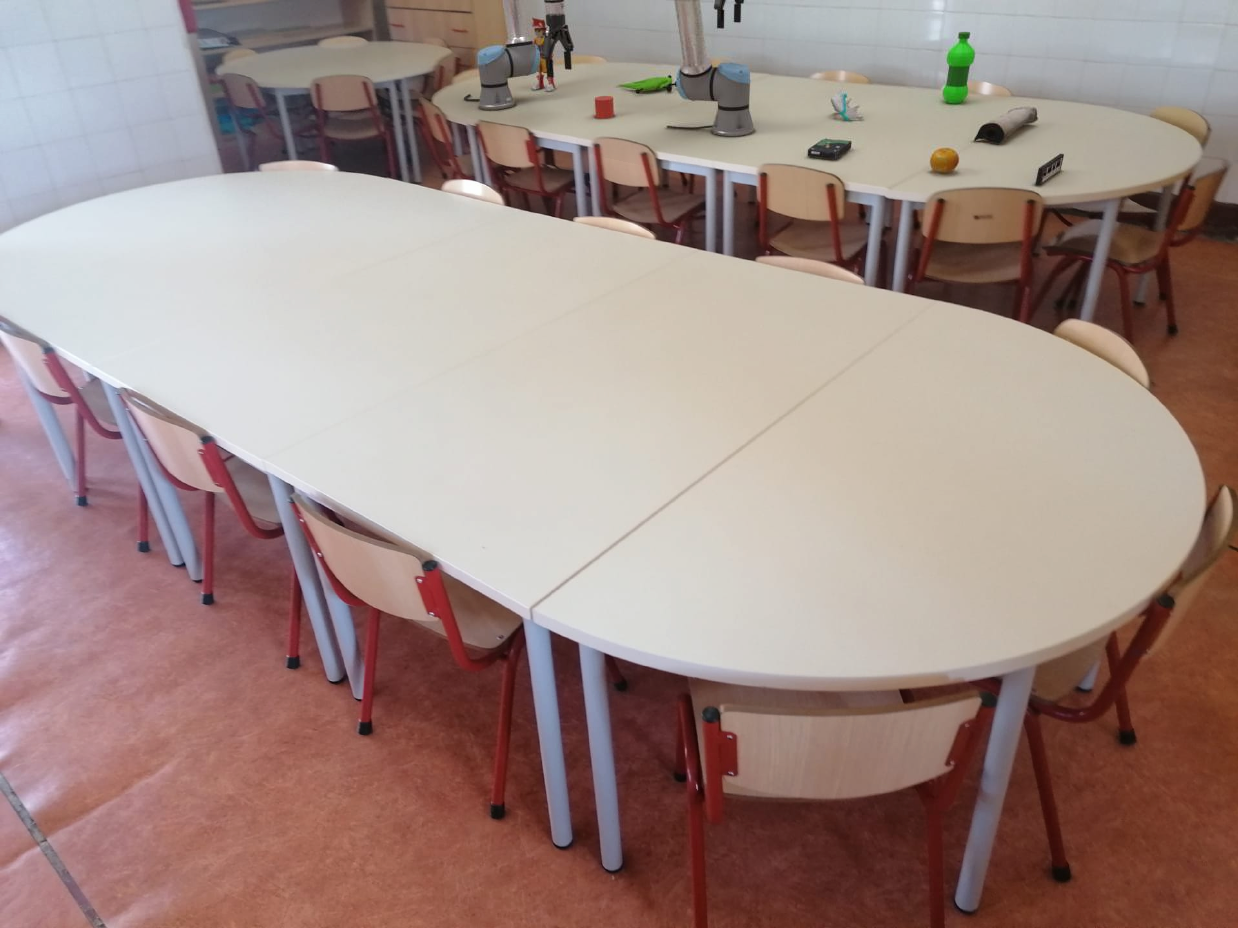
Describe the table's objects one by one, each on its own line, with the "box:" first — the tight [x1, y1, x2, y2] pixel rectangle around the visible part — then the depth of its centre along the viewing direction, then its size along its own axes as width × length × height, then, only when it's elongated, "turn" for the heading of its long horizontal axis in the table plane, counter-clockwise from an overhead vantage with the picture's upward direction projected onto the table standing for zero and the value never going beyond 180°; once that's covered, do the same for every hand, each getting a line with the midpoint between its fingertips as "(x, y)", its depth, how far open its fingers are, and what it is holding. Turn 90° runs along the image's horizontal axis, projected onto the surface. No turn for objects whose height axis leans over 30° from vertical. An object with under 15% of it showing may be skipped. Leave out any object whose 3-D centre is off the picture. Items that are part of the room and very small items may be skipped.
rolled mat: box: [973, 106, 1039, 145], centre depth 314 cm, size 30×9×10 cm
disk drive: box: [807, 138, 852, 160], centre depth 306 cm, size 10×3×15 cm
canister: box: [594, 95, 615, 120], centre depth 363 cm, size 8×8×7 cm
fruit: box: [929, 147, 960, 174], centre depth 283 cm, size 8×8×8 cm
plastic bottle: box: [942, 31, 976, 104], centre depth 348 cm, size 10×10×25 cm
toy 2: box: [617, 74, 677, 95], centre depth 401 cm, size 28×5×30 cm
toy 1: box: [529, 17, 556, 92], centre depth 403 cm, size 12×9×30 cm
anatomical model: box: [830, 89, 864, 121], centre depth 343 cm, size 15×10×10 cm
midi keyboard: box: [1035, 153, 1065, 186], centre depth 273 cm, size 18×1×5 cm, turn 138°
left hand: (559, 73), depth 354 cm, fingers open, 13 cm apart
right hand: (729, 25), depth 349 cm, fingers open, 13 cm apart
